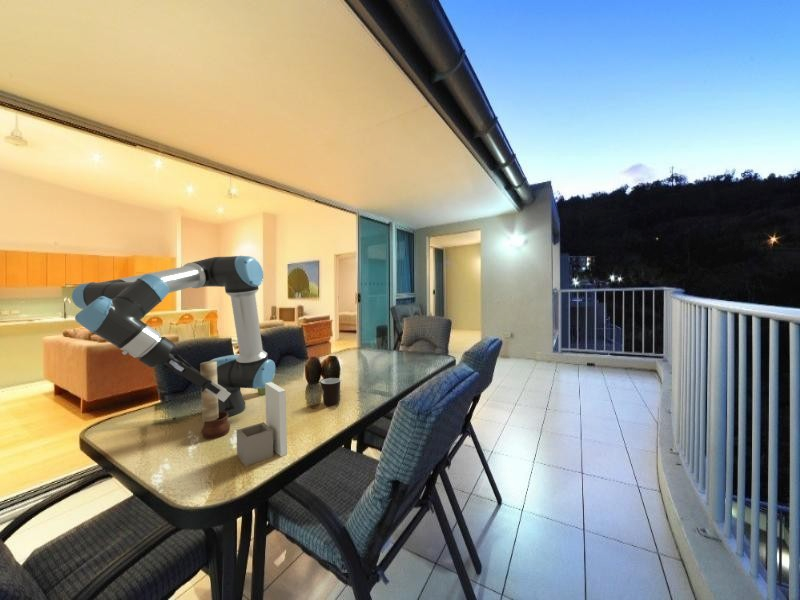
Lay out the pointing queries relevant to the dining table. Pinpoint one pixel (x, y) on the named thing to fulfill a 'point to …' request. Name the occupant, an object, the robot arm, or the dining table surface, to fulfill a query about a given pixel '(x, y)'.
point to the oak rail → (208, 399)
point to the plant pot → (263, 389)
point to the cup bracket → (265, 430)
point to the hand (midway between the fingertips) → (224, 395)
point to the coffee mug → (330, 391)
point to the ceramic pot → (216, 427)
